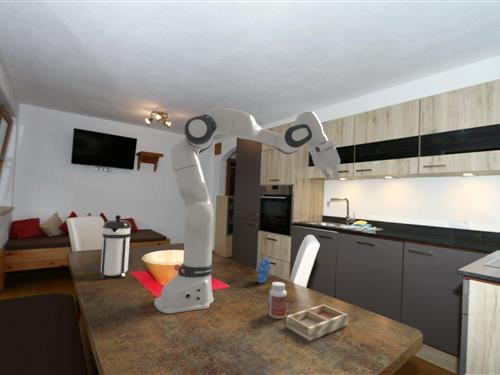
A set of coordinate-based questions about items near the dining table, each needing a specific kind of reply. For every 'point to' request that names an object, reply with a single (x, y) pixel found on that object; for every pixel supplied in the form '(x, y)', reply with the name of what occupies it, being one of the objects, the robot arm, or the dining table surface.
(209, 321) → the dining table surface
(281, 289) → the pill bottle
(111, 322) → the dining table surface
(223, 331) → the dining table surface
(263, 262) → the grapes
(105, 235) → the coffee press
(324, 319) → the tray
